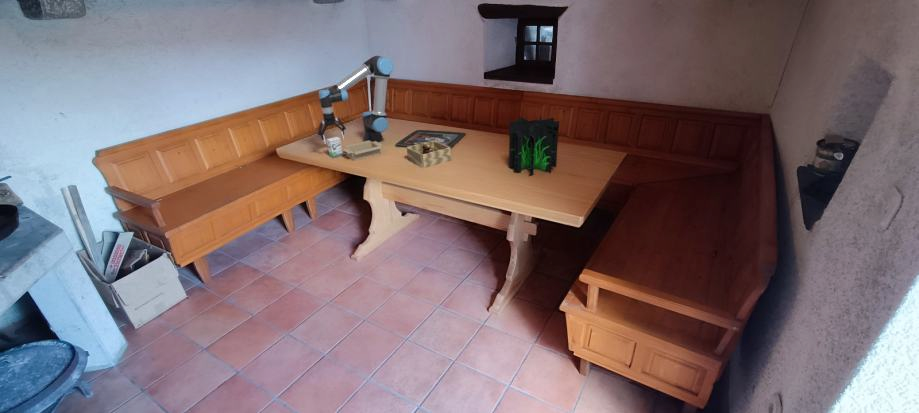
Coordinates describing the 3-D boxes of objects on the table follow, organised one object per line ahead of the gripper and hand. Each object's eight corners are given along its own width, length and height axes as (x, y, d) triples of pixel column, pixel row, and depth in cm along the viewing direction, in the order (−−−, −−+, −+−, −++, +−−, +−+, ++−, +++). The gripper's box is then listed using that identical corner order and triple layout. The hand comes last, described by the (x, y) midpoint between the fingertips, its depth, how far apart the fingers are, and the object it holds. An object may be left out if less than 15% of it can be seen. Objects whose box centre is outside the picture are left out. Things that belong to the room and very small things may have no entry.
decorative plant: (564, 171, 265) (567, 124, 251) (520, 178, 258) (521, 130, 244) (543, 156, 290) (545, 113, 276) (502, 163, 283) (502, 118, 269)
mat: (338, 151, 318) (338, 150, 318) (344, 155, 309) (344, 154, 309) (327, 154, 313) (326, 153, 313) (332, 158, 304) (332, 157, 304)
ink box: (332, 156, 307) (329, 140, 301) (329, 154, 310) (326, 139, 304) (342, 153, 312) (340, 137, 307) (339, 151, 315) (336, 136, 310)
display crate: (435, 152, 308) (434, 140, 303) (452, 160, 291) (451, 147, 287) (406, 159, 296) (405, 147, 292) (423, 168, 280) (421, 155, 276)
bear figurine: (441, 161, 291) (440, 144, 285) (419, 163, 289) (417, 146, 284) (439, 154, 303) (438, 138, 297) (418, 156, 301) (416, 140, 296)
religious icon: (450, 151, 308) (450, 147, 306) (395, 147, 322) (394, 144, 320) (467, 135, 342) (467, 131, 340) (416, 132, 356) (416, 129, 354)
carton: (373, 147, 324) (372, 139, 321) (387, 154, 307) (386, 146, 304) (340, 154, 310) (339, 147, 308) (352, 163, 294) (351, 155, 291)
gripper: (343, 108, 306) (348, 136, 316) (308, 115, 294) (315, 144, 304) (346, 110, 300) (352, 138, 310) (312, 117, 288) (318, 146, 298)
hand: (334, 141), depth 307 cm, fingers open, 13 cm apart
